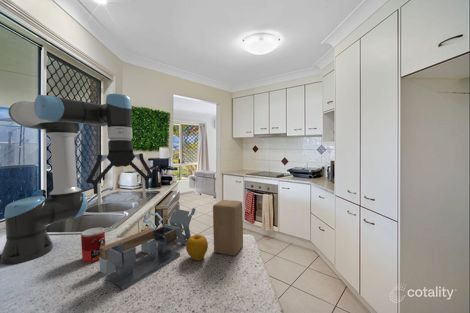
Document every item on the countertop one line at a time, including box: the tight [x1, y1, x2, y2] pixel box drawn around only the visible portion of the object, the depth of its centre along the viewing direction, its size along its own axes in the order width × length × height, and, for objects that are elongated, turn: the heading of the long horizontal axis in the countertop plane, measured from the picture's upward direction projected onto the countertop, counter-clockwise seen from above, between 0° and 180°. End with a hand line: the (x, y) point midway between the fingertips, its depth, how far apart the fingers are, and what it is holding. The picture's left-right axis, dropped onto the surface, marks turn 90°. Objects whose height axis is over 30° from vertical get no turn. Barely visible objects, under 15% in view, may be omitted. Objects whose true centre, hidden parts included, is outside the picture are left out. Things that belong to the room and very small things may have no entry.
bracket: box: [163, 204, 196, 246], centre depth 94 cm, size 13×10×15 cm
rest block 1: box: [98, 257, 116, 276], centre depth 72 cm, size 5×4×5 cm
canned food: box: [80, 226, 106, 264], centre depth 80 cm, size 8×8×11 cm
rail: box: [100, 228, 155, 260], centre depth 78 cm, size 4×20×4 cm, turn 148°
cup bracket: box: [105, 225, 181, 291], centre depth 73 cm, size 10×23×11 cm, turn 148°
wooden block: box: [212, 199, 244, 257], centre depth 85 cm, size 10×10×20 cm
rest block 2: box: [140, 239, 158, 255], centre depth 85 cm, size 5×4×5 cm
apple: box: [185, 234, 209, 261], centre depth 78 cm, size 8×8×9 cm
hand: (123, 200), depth 70 cm, fingers open, 13 cm apart
